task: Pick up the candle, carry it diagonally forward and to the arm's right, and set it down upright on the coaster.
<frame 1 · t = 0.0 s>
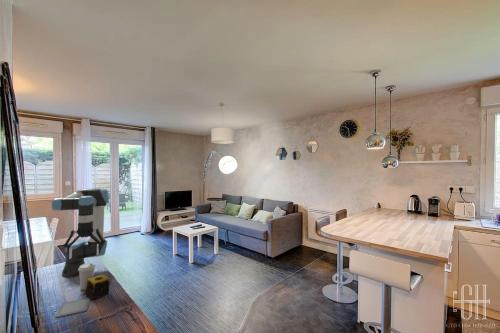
hand: (84, 256, 138), 28 cm above the table, fingers open, 13 cm apart
coffee cup: (86, 287, 155), on the table
coaster: (74, 307, 133), on the table
candle: (97, 294, 146), on the table, touching coaster
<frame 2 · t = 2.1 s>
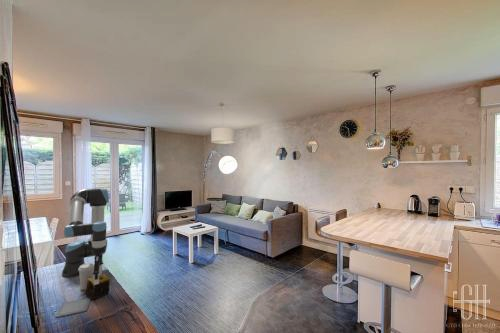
hand: (97, 279, 146), 10 cm above the table, fingers open, 13 cm apart
candle: (97, 294, 146), on the table, touching coaster, gripper
everything else where it was.
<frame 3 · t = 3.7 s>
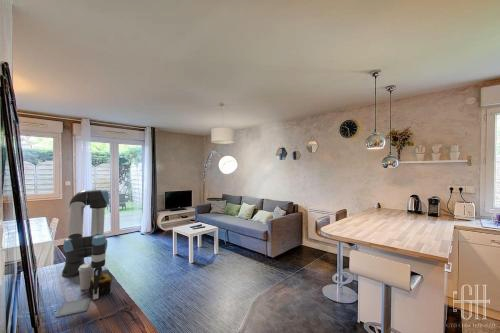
hand: (97, 293, 146), 1 cm above the table, fingers closed on candle, 12 cm apart
candle: (99, 294, 147), on the table, touching coaster, gripper
everything else where it was.
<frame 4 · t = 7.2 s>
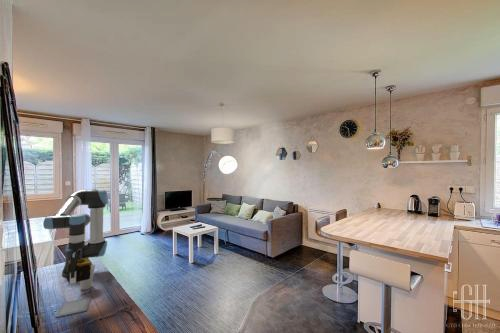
hand: (75, 278, 133), 17 cm above the table, fingers closed on candle, 12 cm apart
candle: (77, 278, 134), point 16 cm above the table, touching gripper
everything else where it was.
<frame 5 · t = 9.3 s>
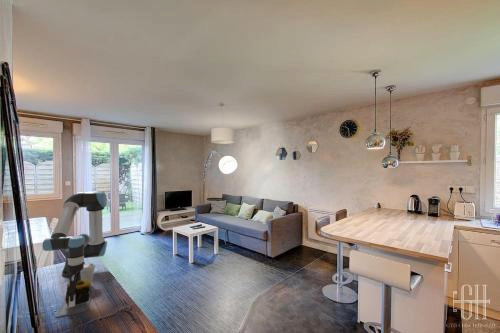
hand: (74, 300, 133), 4 cm above the table, fingers closed on candle, 12 cm apart
candle: (77, 300, 134), point 3 cm above the table, touching gripper
everything else where it was.
when the fingers open (3 cm above the table, at t = 10.6 s): candle drops 2 cm, resting on coaster.
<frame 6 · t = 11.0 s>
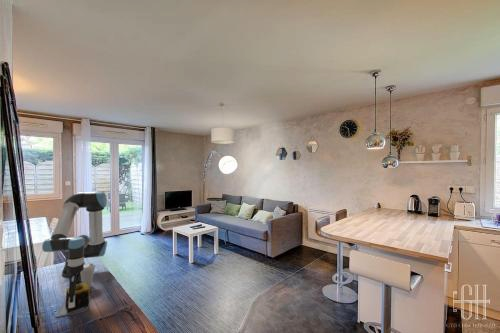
hand: (74, 300, 133), 4 cm above the table, fingers open, 13 cm apart
candle: (77, 305, 134), resting on coaster
everything else where it was.
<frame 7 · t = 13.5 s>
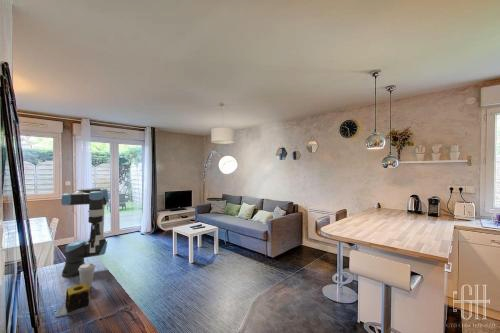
hand: (94, 248, 145), 30 cm above the table, fingers open, 13 cm apart
nothing on the table moved.
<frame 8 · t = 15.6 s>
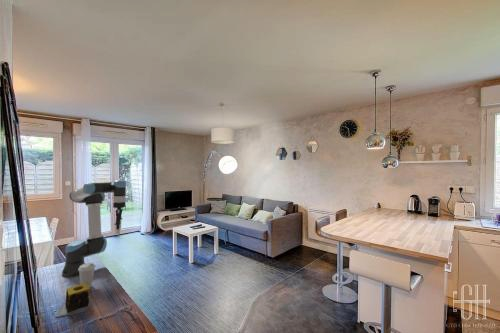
hand: (118, 231, 163), 37 cm above the table, fingers open, 13 cm apart
nothing on the table moved.
at the end: candle inside the target area on the coaster (1.3 cm from its centre), point 0.5 cm above the coaster's base; candle tilted 0°; the gripper is holding nothing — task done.
